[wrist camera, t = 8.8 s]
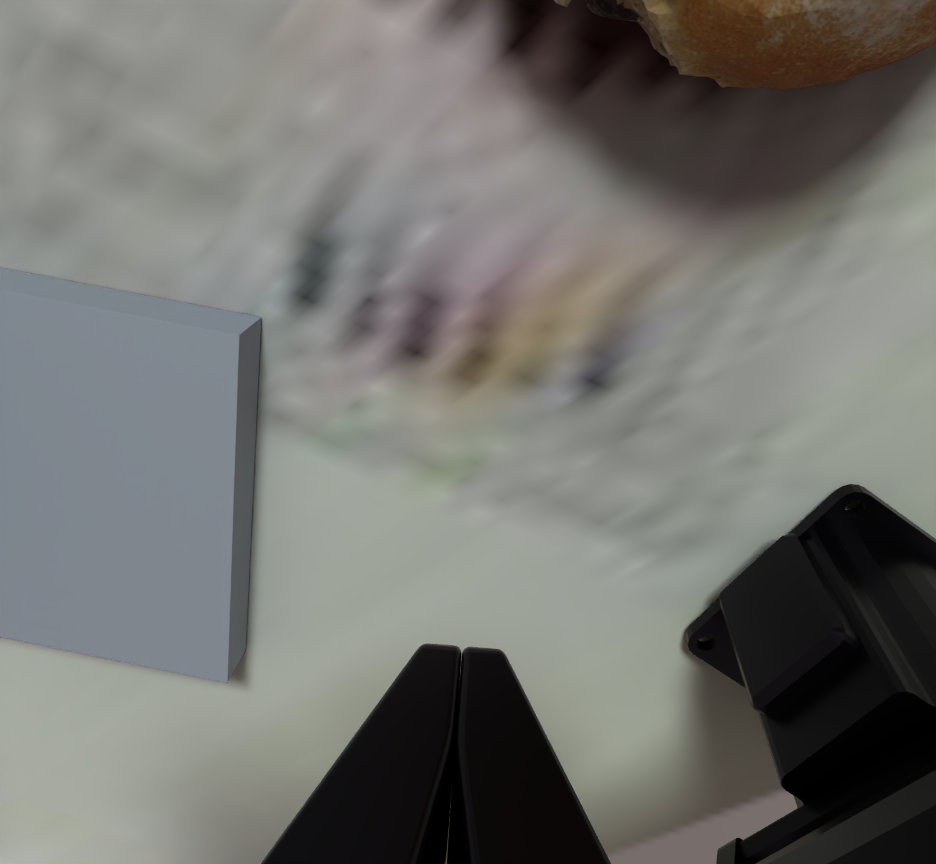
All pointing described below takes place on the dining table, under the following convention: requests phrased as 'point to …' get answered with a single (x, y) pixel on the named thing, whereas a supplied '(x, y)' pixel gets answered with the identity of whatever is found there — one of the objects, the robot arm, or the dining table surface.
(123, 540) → the plate
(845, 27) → the bread roll
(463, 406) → the dining table surface
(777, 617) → the robot arm
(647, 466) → the dining table surface
